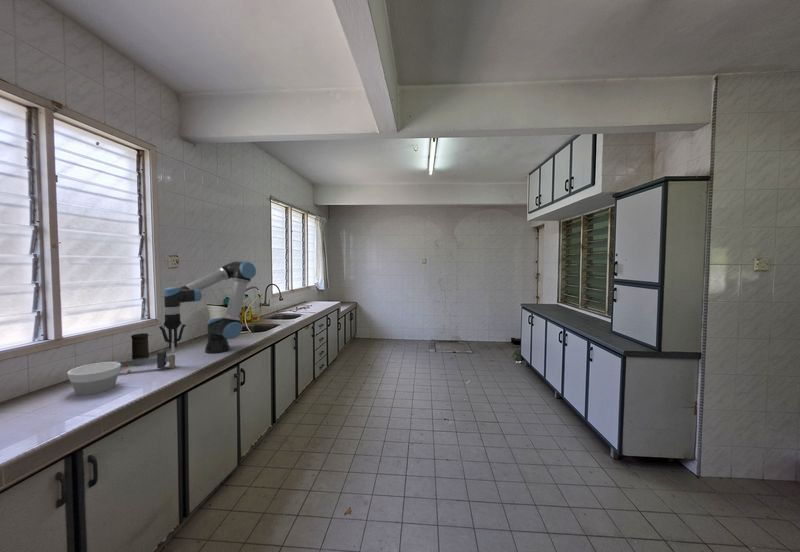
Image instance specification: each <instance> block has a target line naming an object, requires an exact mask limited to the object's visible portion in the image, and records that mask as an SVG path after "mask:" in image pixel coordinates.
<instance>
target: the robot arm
mask: <svg viewBox="0 0 800 552" xmlns="http://www.w3.org/2000/svg"><path fill="white" fill-rule="evenodd" d="M256 273H257V268H256V266H255V265H254V264H253V263H252V262H250V261H232V262H230V263H227V264H225V265H222V266H220V267H219V268H218V269H217V270H216V271H212V272H211V273H209V274H207V275H204V276H202V277H200V278H198V279H196V280H193V281H191V282H190V283H186V284H185V285H183V286H180V287H177V286H175V287H173V286H171V287H166V288H164V289H163V291H164V292H163V298H164V299H163V301H164V308H163V309H164V322H163V324H161V325H160V326H159V329H160V330H161V333H162V335H163V336H162V337H163V339H164V341H165V343H168V348H169V349H171V350H170V351H171V353H170V355H175V353H176V348H177V347H178V342H179V341H181V340H182V337H183V333H184V328H185V326H186V323H182V320H181V303H182V304H183V303H193V302H200V301H201V299H202V298H203V297H202V295H203V294H202V291H203V290H205V289H207V288H210V287H212V286H213V285H215V284H217V283H220V282H222V281H224V280H225V281H227V280H229V279H232V280H233V283H232V288H231V293H230V296H229V299H228V300H229V301H228V303H227V307H226V308H227V309H226V311H225V315H223V316H222V317H216V318H209V319H208V320H207V324H206V325H207V342H206V345H205V349H204V352H205V353H206V354H217V353H218V354H219V353H226V352H228V351H229V350H231V349H230V343H229V341H228V340H234V339H236V338H238V337H239V336H240V335H241V333H242V332H243V331H242V330H243V326H242V324H241V321H242V320H241V318H240V314H241V311H242V306H243V303H244V299H245V294H246V291H247V286H248V284H249V283H251V280H252V279H253V278H254V277H255V276H256ZM179 327H180V331H179V334H178V328H179ZM166 329H167V330H168V335H167V332H166ZM172 331H173V332H172Z"/></svg>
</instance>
